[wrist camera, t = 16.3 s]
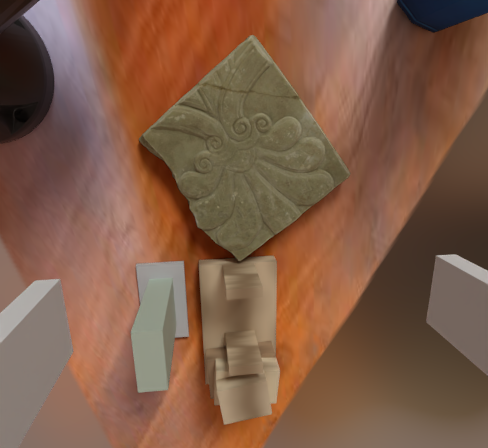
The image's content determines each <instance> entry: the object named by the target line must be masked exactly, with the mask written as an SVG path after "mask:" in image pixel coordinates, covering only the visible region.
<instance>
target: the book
mask: <svg viewBox="0 0 488 448" xmlns="http://www.w3.org/2000/svg"><path fill="white" fill-rule="evenodd" d="M397 3H398V5H399V6H400V7H401V9H402V10H403V11H404V13H405V14H406V15H407V17H408V18H409V19H410V21H411V22H412V23H413V24H416V25H418V26H420V27H422V28H424V29H427V30H429V31H431V32H433V33H434V32H437V31H439V30H442V29H445V28H448V27H450V26H453V25H456V24H458V23H461V22H464V21H466V20H469V19H472V18H475V17H477V16H480V15H483V14H485V13H488V0H397Z"/></svg>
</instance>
